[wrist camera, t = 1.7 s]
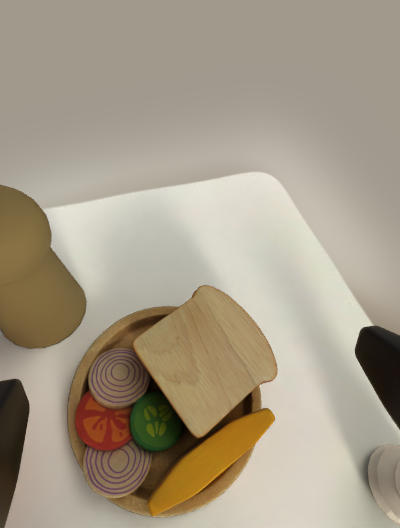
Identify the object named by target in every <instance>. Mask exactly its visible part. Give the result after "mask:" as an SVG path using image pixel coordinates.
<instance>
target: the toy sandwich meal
mask: <svg viewBox="0 0 400 528" xmlns="http://www.w3.org/2000/svg"><path fill="white" fill-rule="evenodd" d="M276 375H277V364H276V360H275V357H274V354H273V352H272V349H271V347H270V345H269V343H268V341H267V339H266V338H265V336H264V334H263V333H262V331H261V330H260V328H259V327H258V326H257V324H256V323H255V322H254V320H253V319H252V318H251V317H250V316H249V315H248V313H247V312H246V311H245V310H244V309H243V308H242V307H241V306H240V305H238V304H237V303H236V302H235V301H234V300H233V299H232V298H230V297H229V296H228V295H226V294H225V293H223V292H222V291H220V290H218V289H216V288H214V287H211V286H206V285H203V286H200V287H199V288H198V289H197V290H196V291H195V292H194V293H193V295H192V298H191V299H190V300H188V301H187V302H186V303H184V304H183V305H181V306H180V307H173V306H162V307H153V308H149V309H144V310H141V311H138V312H135V313H132V314H130V315H128V316H126V317H124V318H122V319H120V320H119V321H117V322H115V323H114V324H113V325H111V326H110V327H109V328H108V329H106V330H105V331H104V332H103V333H102V334H101V335H100V336H99V337H98V338H97V339H96V340H95V341H94V342H93V344H92V345H91V346H90V348H89V349H88V350H87V352H86V353H85V355H84V357H83V358H82V360H81V362H80V364H79V366H78V368H77V370H76V373H75V376H74V378H73V381H72V385H71V389H70V393H69V399H68V409H67V422H68V432H69V437H70V442H71V446H72V449H73V452H74V455H75V457H76V459H77V462H78V464H79V466H80V467H81V469H82V471H83V473H84V476H85V479H86V481H87V483H88V485H89V486H90V487H91V488H92V490H93V491H94V492H95V493H97V494H99V495H100V496H103V497H106V498H107V499H109V500H110V501H111V502H113V503H115V504H116V505H118V506H120V507H122V508H124V509H126V510H129V511H131V512H134V513H137V514H141V515H146V516H155V517H167V516H175V515H180V514H185V513H188V512H191V511H194V510H196V509H199V508H201V507H203V506H205V505H207V504H208V503H210V502H212V501H213V500H214V499H216V498H217V497H219V496H220V495H221V494H222V493H223V492H225V491H226V490H227V489H228V488H229V487H230V486H231V485H232V484H233V482H234V481H235V480H236V479H237V477H238V476H239V475H240V473H241V472H242V470H243V469H244V467H245V466H246V464H247V462H248V460H249V458H250V456H251V454H252V452H253V449H254V447H255V444H256V442H257V441H258V440H259V439H260V438H261V436H262V435H263V434H264V433H265V432H266V430H267V429H268V428H269V427H270V426H271V425H272V423H273V422H274V420H275V417H274V415H273V413H272V412H271V410H269V409H268V408H263V409H261V394H260V388H259V385H260V384H262V383H266V382H270V381H272V380H273V379H275V377H276Z"/></svg>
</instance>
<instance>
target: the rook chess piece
mask: <svg viewBox="0 0 400 528" xmlns="http://www.w3.org/2000/svg"><path fill="white" fill-rule="evenodd" d="M368 480H369V486H370V488H371V491H372V494H373V496H374V499H375V501H376V502H377V504H378V505H379V506H380V508H381V509H382V510H383V512H384V513H385V515H387V516H388V517H389V518H391V519H392V520H394V521H395V522H396V523H398V524H400V445H397V446H395V445H391V444H388V445H384V446H381V447H378V448H377V449H376V451H375V452H374V453H373V454H372V455H371V457H370V461H369V465H368Z"/></svg>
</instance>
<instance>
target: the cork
mask: <svg viewBox="0 0 400 528" xmlns="http://www.w3.org/2000/svg"><path fill="white" fill-rule="evenodd" d="M50 245H51V230H50V226H49V222H48V219H47V216H46V214H45V213H44V212H43V210H42V209H41V208H40V207H39V205H38V204H37V203H36V202H35V201H34V200H33V199H32V198H31V197H29V196H27V195H26V194H24V193H22V192H21V191H19V190H16V189H14V188H10V187H7V186H3V185H0V329H1V330H2V332H3V334H4V335H5V337H6V338H7V339H9V340H10V341H12V342H13V343H14V344H16V345H19V346H23V347H26V348H45V347H48V346H51V345H54V344H57V343H59V342H61V341H62V340H64V339H65V338H67V337H68V336H70V335H71V334H72V333H73V332H74V331H75V330H76V328H77V327H78V326H79V325H80V323H81V321H82V319H83V317H84V314H85V310H86V298H85V294H84V291H83V289H82V288H81V287H80V285H79V284H78V283H77V281H76V280H75V279H74V277H73V276H72V275H71V274H70V272H69V271H68V270H67V268H66V267H65V266H64V264H63V263H62V262H61V260H60V259H59V258H58V257H57V255H56V254H55V253H54V251H53V250H52V249H51V247H50Z"/></svg>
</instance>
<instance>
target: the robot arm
mask: <svg viewBox="0 0 400 528" xmlns="http://www.w3.org/2000/svg"><path fill="white" fill-rule="evenodd" d="M355 355H356V358H357V360H358V362H359V363H360V365H361V367H362V369H363V370H364V372H365V374H366V376H367V378H368V379H369V381H370V383H371V385H372V386H373V388H374V390H375V392H376V394H377V395H378V397H379V399H380V401H381V402H382V404H383V406H384V407H385V409H386V410H387V412H388V413H389V415H390V416H391V418H392V419H393V421H394V422H395V424H396V425H397V427H398V428H399V429H400V335H397V334H395V333H393V332H390V331H388V330H386V329H384V328H381V327H379V326H369V327H364V328H362V329H361V330H360V333H359V336H358V340H357V343H356V347H355ZM28 417H29V401H28V398H27V396H26V393H25V391H24V388H23V385H22V383H21V381H20V380H19V379H11V380H4V381H0V528H4V527H5V523H6V520H7V516H8V513H9V509H10V506H11V502H12V499H13V495H14V491H15V487H16V483H17V479H18V474H19V469H20V463H21V457H22V452H23V446H24V440H25V434H26V428H27V422H28Z"/></svg>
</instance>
